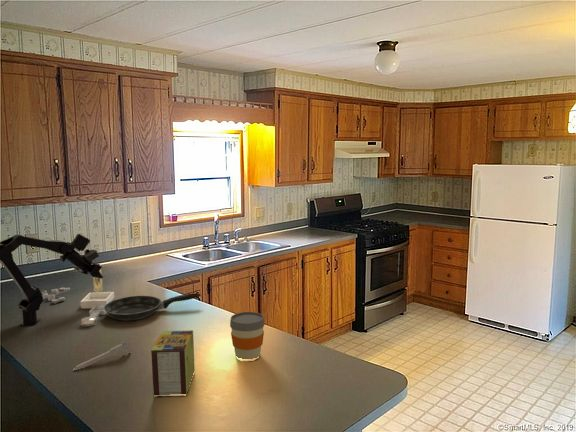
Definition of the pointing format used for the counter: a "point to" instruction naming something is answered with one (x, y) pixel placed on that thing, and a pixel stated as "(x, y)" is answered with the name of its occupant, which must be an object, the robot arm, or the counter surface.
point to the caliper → (107, 354)
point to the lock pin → (98, 283)
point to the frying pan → (140, 306)
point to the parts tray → (97, 299)
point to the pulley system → (54, 295)
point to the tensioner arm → (93, 316)
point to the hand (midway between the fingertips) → (100, 276)
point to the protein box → (173, 362)
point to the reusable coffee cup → (247, 334)
